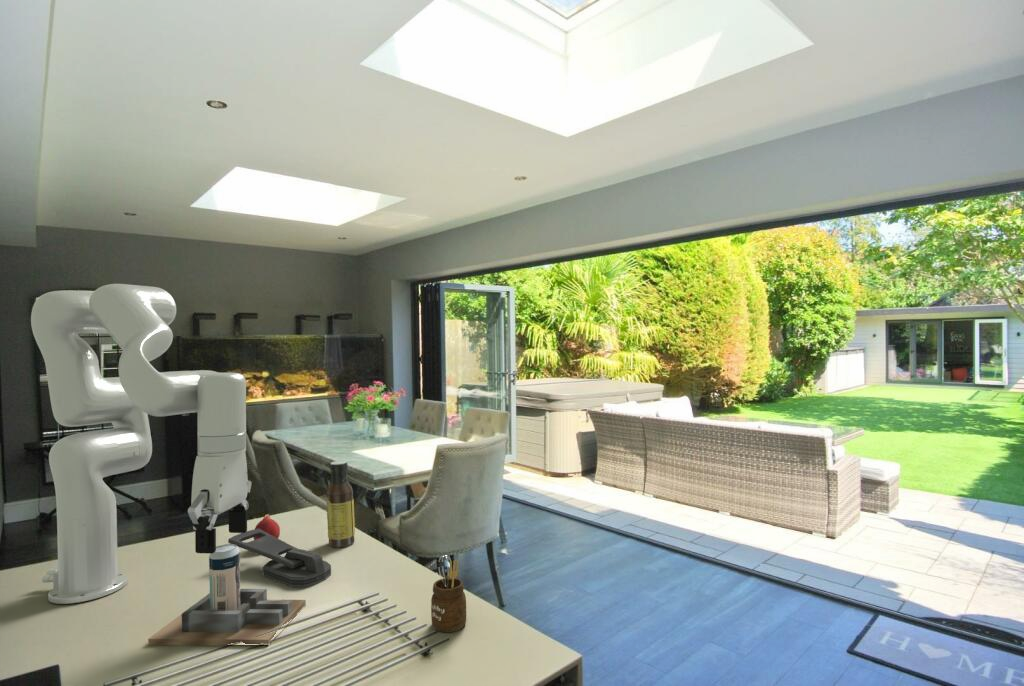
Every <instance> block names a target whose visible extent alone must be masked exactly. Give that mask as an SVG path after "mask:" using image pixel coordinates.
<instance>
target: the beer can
mask: <svg viewBox="0 0 1024 686" xmlns="http://www.w3.org/2000/svg"><path fill="white" fill-rule="evenodd" d="M240 552H241V550H240V549H239V547H238V546H237V545H234V544H230V543H228V544H222V545H218V546H217V545H216V551H215V552H214V553H212V554H210V553H209V554H208V555H209V556H208V568H209V569H208V570H209V575H208V576H209V593H210V611H235V610H236V609H237V608H238V607H240V606H241V603H240V589H241V564H240Z"/></svg>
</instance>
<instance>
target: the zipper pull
mask: <svg viewBox="0 0 1024 686" xmlns="http://www.w3.org/2000/svg"><path fill="white" fill-rule="evenodd" d="M257 536H261V537H262V538H259V539H256V540H254V537H257ZM250 539H253V540H251V541H250ZM246 540H249V541H246ZM243 541H244V542H243ZM245 541H246V542H245ZM227 543H228V544H234V545H237V547H238V548H241V549H243V550H246V551H249V552H251V553H255V554H257V555H259V556H262V557H265V558H267V559H269V561H267V562H266V563H265V564H264V565H263V568H262V569H263V570H262V571H263V573H262V574H263V577H265V578H266V579H270V580H272V581H274V582H277V583H279V582H280V584H282V585H284V584H285V585H284V586H287V587H288V588H289V587H290V588H300V589H301V588H302V589H307V588H308V587H311V586H316V585H318V584H320V583H322V582H324V581H326V580H327V579H329V578H330V576H331V575H332V565H331V563H329V562H328V561H327V560H324V559H323V556H321V554H320V553H318V552H314V551H312V550H306V549H301V548H297V547H296V546H293V545H291V544H289V543H287V542H286V541H284V540H281V539H280V538H276V537H274V536H272V535H270V534H268V533H266V532H264V531H263V530H261V529H255V528H254V529H251V530H247V531H246V532H245V533H237V534H236V535H233V536H232V537H230V538H228V541H227ZM284 554H285V555H284ZM281 555H284V556H281Z"/></svg>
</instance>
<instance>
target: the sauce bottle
mask: <svg viewBox="0 0 1024 686" xmlns="http://www.w3.org/2000/svg"><path fill="white" fill-rule="evenodd" d="M329 469H330V484H329V486H328V488H327V490H326V519H327V537H328V545H329V546H331V547H332V548H345V547H349V546H351V545H354V543H355V535H356V530H355V526H356V525H355V505H354V501H355V500H354V489H353V487H352V485H351V483H349V481H348V479H349V478H348V471H347V470H348V461H347V460H336V461H332V462H330V464H329Z"/></svg>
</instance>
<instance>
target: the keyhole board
mask: <svg viewBox="0 0 1024 686" xmlns="http://www.w3.org/2000/svg"><path fill="white" fill-rule="evenodd" d="M267 591H268V589H267V588H240V603H241V606H240V607H238V608H237V609H236V610H235V611H210V592H209V593H208V594H206V595H205V596H203V597H202V598H201V599H199V600H198V601H197V602H196V603H195V604H193V605H192V606H189V608H188V609H186V610H185V611H183V612H182V613H181V614H179V615H178V616H177V617H175V618H174V619H173V620H172V621H169V623H168V624H166V625H165V626H164V627H162V628H161V629H160V630H158V631H157V632H156V633H154V634H152V635H151V636H150V637H149V638H148V639H147V640H148V642H147V643H148V646H214V647H215V646H223V645H228V644H231V643H236V642H240V641H242V642H243V643H245V644H261V643H267V644H268V643H269V641H270V640H271V639H272V638H273V637H274V635H275V634H276V632H277V631H275V632H272V633H268V634H265V635H262V636H258V637H255V636H257V635H260V634H264V633H267V632H270V631H272V630H274V629H277V628H280V627H281V626H282V625H284V624H286V623H287V622H289V621H290V620H291V619H293V618H294V619H295V618H296V616H297V615H298V614H299V613H300V612H301V611H302V610H303V609H302V608H303V607H306V602H307V601H306V599H268V592H267ZM301 609H302V610H301ZM300 610H301V611H300ZM299 611H300V612H299ZM298 612H299V613H298ZM297 613H298V614H297ZM294 619H293V620H294Z"/></svg>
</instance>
